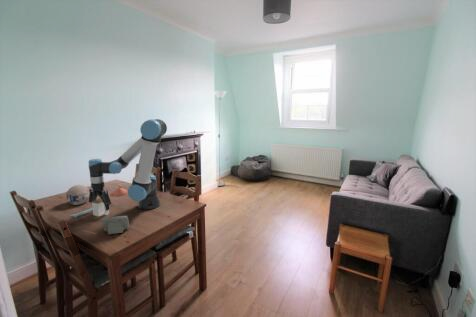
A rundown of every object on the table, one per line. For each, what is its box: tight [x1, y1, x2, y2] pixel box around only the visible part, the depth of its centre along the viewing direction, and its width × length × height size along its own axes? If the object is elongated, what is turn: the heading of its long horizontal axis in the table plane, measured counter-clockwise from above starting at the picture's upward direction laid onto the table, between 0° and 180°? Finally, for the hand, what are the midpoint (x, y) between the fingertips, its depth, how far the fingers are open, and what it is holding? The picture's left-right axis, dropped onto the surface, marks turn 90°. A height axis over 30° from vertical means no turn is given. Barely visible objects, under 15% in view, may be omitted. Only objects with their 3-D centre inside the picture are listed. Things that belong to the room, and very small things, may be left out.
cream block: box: [91, 197, 107, 217], centre depth 158 cm, size 5×8×10 cm, turn 160°
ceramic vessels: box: [109, 184, 129, 198], centre depth 198 cm, size 35×21×19 cm, turn 134°
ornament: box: [65, 184, 90, 206], centre depth 174 cm, size 15×15×15 cm
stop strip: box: [72, 207, 93, 218], centre depth 159 cm, size 2×13×2 cm, turn 161°
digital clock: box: [101, 215, 130, 235], centre depth 135 cm, size 14×8×9 cm, turn 94°
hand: (101, 213), depth 159 cm, fingers open, 10 cm apart
